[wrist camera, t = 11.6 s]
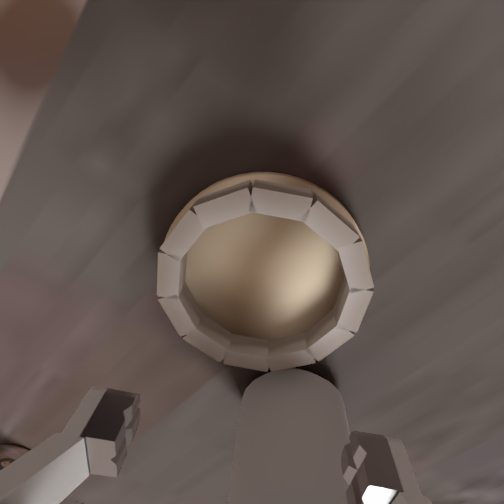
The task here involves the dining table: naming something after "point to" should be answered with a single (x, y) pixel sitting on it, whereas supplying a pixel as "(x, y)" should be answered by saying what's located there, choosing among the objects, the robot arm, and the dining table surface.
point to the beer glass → (10, 454)
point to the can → (290, 441)
